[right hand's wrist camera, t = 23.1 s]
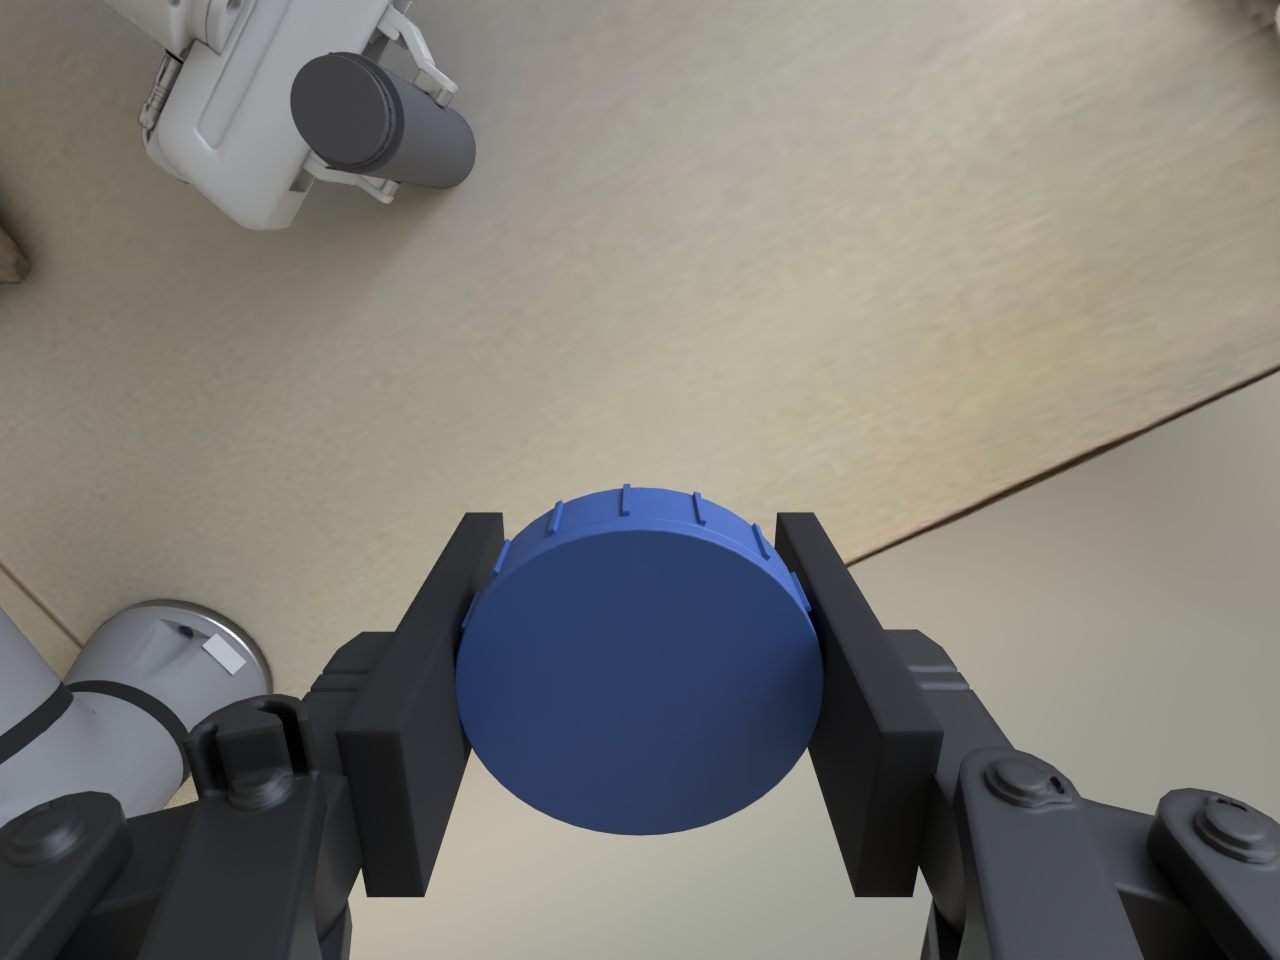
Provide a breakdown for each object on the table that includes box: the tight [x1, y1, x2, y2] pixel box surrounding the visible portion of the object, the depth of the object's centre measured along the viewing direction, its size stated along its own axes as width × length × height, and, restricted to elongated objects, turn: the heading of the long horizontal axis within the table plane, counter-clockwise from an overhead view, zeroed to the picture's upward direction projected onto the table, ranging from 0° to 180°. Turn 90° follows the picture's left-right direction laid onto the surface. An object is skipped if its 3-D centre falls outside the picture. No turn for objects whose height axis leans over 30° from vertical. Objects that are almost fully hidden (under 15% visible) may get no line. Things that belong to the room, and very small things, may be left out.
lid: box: [455, 484, 825, 836], centre depth 11 cm, size 6×6×2 cm
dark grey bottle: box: [290, 52, 476, 188], centre depth 38 cm, size 5×5×16 cm
